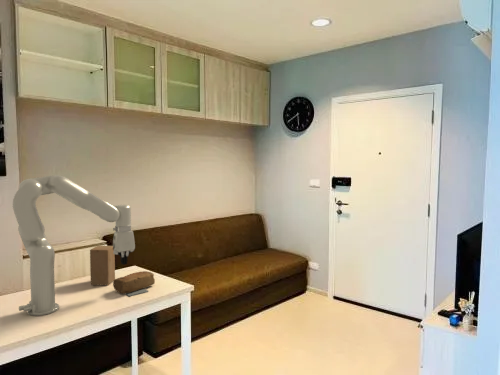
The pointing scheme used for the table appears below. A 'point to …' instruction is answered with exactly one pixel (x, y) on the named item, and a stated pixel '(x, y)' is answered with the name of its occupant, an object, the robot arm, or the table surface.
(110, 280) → the wooden block
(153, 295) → the table surface
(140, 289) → the mat
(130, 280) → the block
